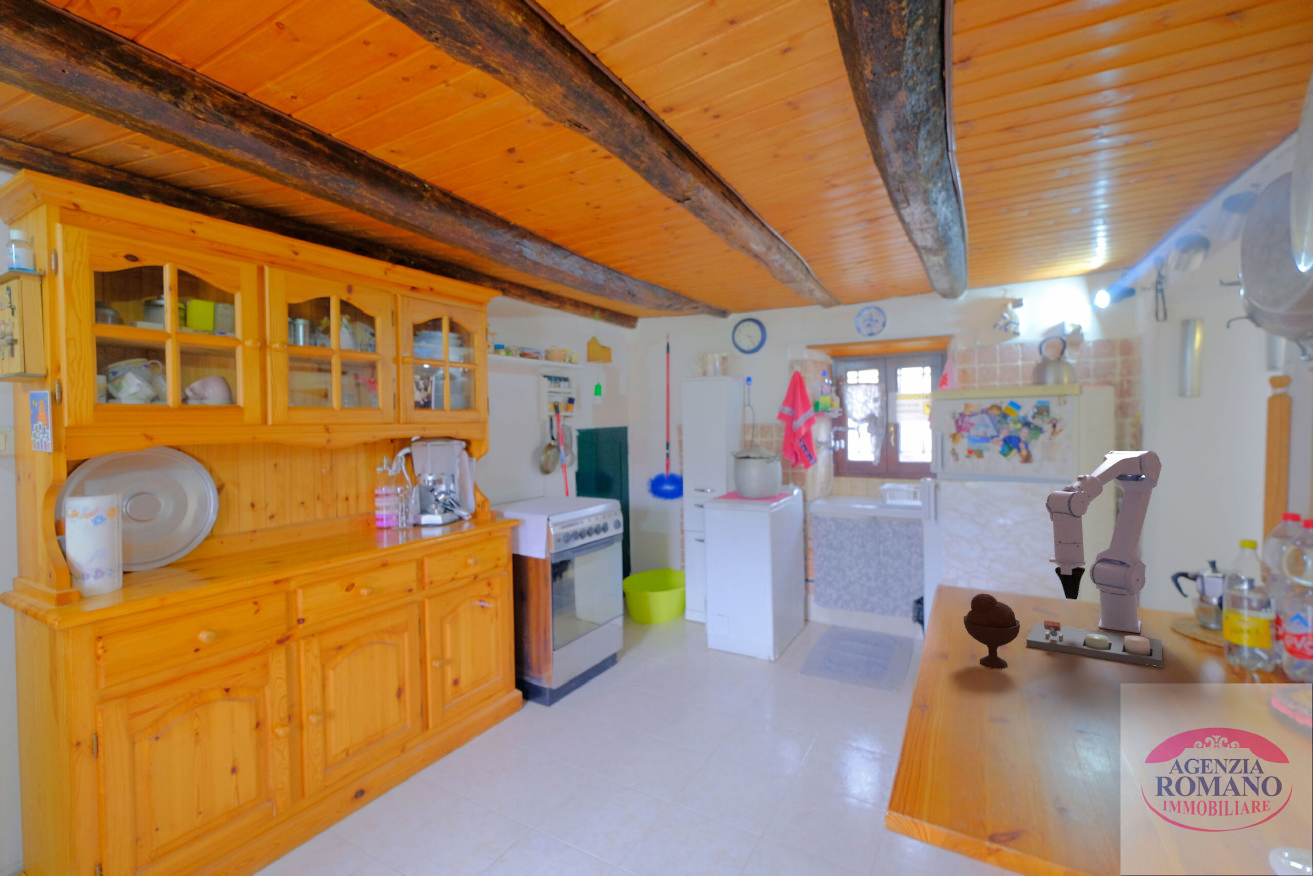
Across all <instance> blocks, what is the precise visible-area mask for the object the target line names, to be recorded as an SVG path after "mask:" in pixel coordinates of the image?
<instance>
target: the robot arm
mask: <svg viewBox="0 0 1313 876" xmlns="http://www.w3.org/2000/svg"><path fill="white" fill-rule="evenodd" d="M1102 461H1103V462H1102V463H1101V464H1100V465H1099V466H1098V467H1097V468H1095V470H1094V471H1092V472H1091V473H1090V474H1079V475H1077V477H1076V478H1075V480H1073V481H1072V482H1071V483H1069V484H1067V485H1066V486H1065V487H1064V488H1063V489H1061V490H1054V491H1052V492H1051V493H1049V494H1048V496H1047V498H1046V502H1045V508H1046V510H1047V512H1048V513H1049V519H1050V521H1051V522H1052V527H1053V528H1052V529H1053V530H1052V531H1053V544H1054V545H1053V546H1054V547H1053V548H1054V549H1053V550H1054V557H1050V558H1049V559H1048V561H1049V563H1054V564H1055V565H1057V567H1056V568H1054V572H1055V573H1056V574H1055V575H1057V577H1058V579H1059V580H1060V584H1061V586H1062V590H1063V593H1064V596H1065V599H1067V600H1078V597H1079V592H1080V586H1081V580H1082V577H1083V575H1084V574H1085V572H1086V568H1085V567H1082V566H1085V565H1086V560H1085V554H1084V553H1085V552H1084V550H1085V549H1084V534H1083V533H1084V532H1083V517H1082V516H1085V514H1086V513H1087V510H1088V507H1089V506H1090V504H1091V502H1092V501H1094V500H1096V498H1097V497H1098V496H1100V495H1101V494H1102V493H1103V492H1104V486H1105V485H1107V484H1108V483H1110V482H1111V481H1112V480H1113V481H1114V482H1115V484H1116V485H1117V486H1119V487H1120V488H1122V489H1123V490H1124V492H1123V497H1122V500H1121V503H1120V507H1119V510H1118V513H1117V518H1116V522H1115V526H1114V528H1113V533H1112V536H1111V540H1110V544H1109V548H1107V549H1106V550H1105V549H1104V550H1103V551H1101V552H1099V553H1097V554H1096V557H1095V560H1094V561H1093V563H1092V564H1091V566H1090V569H1089V577H1090V580H1091V582H1092V583H1093V584H1094V585H1095V587H1096V589H1097V590H1099V604H1100V607H1099V608H1100V618H1099V623H1098V625H1097V626H1098V628H1100V629H1106V630H1115V631H1120V632H1127V633H1128V632H1129V633H1137V634H1138V633H1139V634H1140V633H1141V627H1142V626H1141V625H1142V621H1141V620H1139V617H1138V615H1139V613H1138V599H1137V597H1138V596H1137V594H1139V593H1140V592H1141V591H1142V590H1143V589H1144V587H1145V584H1146V568H1147V567H1146V564H1145V563H1144V562H1143V561H1142V560H1141V559H1140V558H1139V557H1138V556H1137V555H1136V553H1137V549H1138V546H1139V543H1140V539H1141V538H1140V537H1141V535H1142V531H1143V527H1144V523H1145V519H1146V515H1147V511H1148V509H1149V508H1148V507H1149V504H1150V500H1151V497H1152V496H1151V495H1152V492H1153V489H1154V488H1156V487H1157V485H1158V481H1159V478H1160V475H1161V471H1162V463H1161V459H1160V457H1159V455H1158V454H1157V453H1156V452H1155V451H1153V450H1145V451H1142V450H1141V451H1139V450H1138V451H1136V450H1135V451H1133V450H1132V451H1130V450H1129V451H1128V450H1127V451H1123V450H1120V451H1119V450H1111V451H1109V452H1108V453H1107V454H1104V456H1103V459H1102Z"/></svg>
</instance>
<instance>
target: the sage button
mask: <svg viewBox="0 0 1313 876" xmlns="http://www.w3.org/2000/svg"><path fill="white" fill-rule="evenodd" d="M1085 641H1086V646H1087V647H1093V648H1100V649H1106V650H1110V649H1109V638H1108V637H1106V636H1103V635H1099V634H1086V635H1085Z"/></svg>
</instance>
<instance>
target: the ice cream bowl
mask: <svg viewBox="0 0 1313 876" xmlns="http://www.w3.org/2000/svg"><path fill="white" fill-rule="evenodd" d="M970 609H971V610H969V611H968V612H967V614H966V615H964V616H963V623H964V628H965V630H966V631H967V634H969V635H970V636H971V638H973V639H975V641H977V642H979V643H980V644H983V645H985V646H986V647H987V649H988V650H987V651H988V655H986V656H984V657H981V658H980V659H979V665H981V664H982V665H981V666H983V665H984V666H983V667H985V666H986V667H985V668H988V667H990V668H989V669H993V668H998V669H997V670H1000V669H999V668H1001V670H1003V669H1002V668H1004V669H1005V668H1009V666H1008V663H1007V660H1005V659H1003V658H1001V657H1000V656H999V655H998V648H999V647H1002V646H1005V645H1008V644H1010V643H1011V642H1012V641H1014V640H1015V639H1016V638H1017V637H1018V636H1019V633H1020V627H1021V625H1020V621H1019V620H1018V619H1016V616H1015V612H1014V611H1013V609H1012V608H1011V607H1010V606H1009V605H1008V604H1006V603H1003V602H1001V601H998V600H997V598H996V597H994V596H993V595H991V594H990V593H989V594H988V593H983V592H982V593H979V594H978V593H977V594H976V595H975V596H974V597H972V599H971V602H970Z"/></svg>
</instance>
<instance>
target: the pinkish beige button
mask: <svg viewBox="0 0 1313 876" xmlns="http://www.w3.org/2000/svg"><path fill="white" fill-rule="evenodd" d="M1144 637H1145V636H1140V635H1131V636H1125V637H1124V639H1125V651H1126V653H1133V654H1139V655H1146V656H1151V655H1150V642H1149V639H1147V638H1148V637H1145V638H1144Z"/></svg>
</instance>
